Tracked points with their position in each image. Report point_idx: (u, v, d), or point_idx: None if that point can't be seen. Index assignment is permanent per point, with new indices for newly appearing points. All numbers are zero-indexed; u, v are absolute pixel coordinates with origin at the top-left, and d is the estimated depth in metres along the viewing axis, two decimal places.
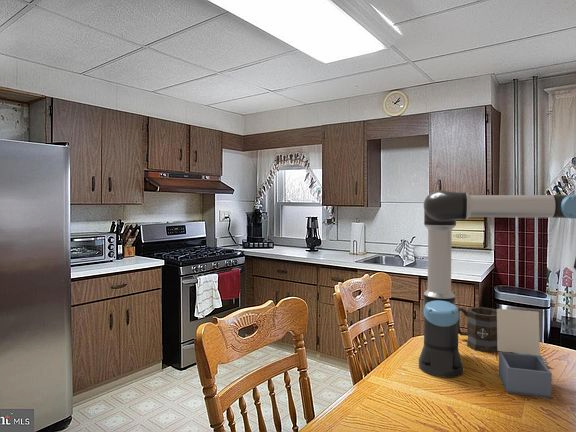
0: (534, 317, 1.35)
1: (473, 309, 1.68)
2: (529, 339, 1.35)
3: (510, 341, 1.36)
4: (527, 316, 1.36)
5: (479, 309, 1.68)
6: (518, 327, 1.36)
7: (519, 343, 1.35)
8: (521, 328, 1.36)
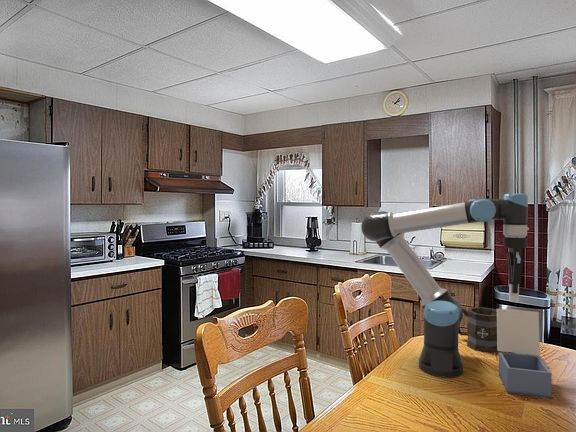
0: (534, 317, 1.35)
1: (473, 309, 1.68)
2: (529, 339, 1.35)
3: (510, 341, 1.36)
4: (527, 316, 1.36)
5: (479, 309, 1.68)
6: (518, 327, 1.36)
7: (519, 343, 1.35)
8: (521, 328, 1.36)
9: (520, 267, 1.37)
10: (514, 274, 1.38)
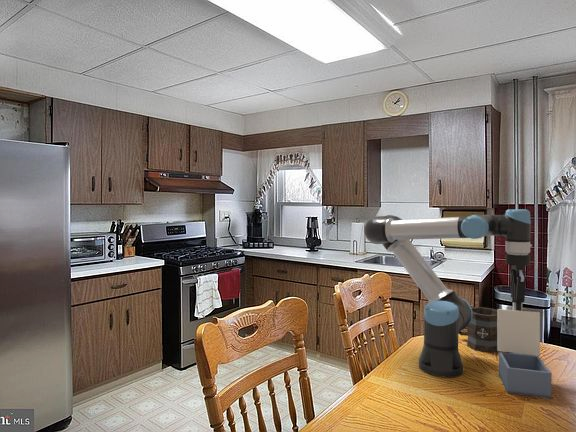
0: (535, 318, 1.34)
1: (473, 309, 1.68)
2: (529, 339, 1.34)
3: (510, 341, 1.36)
4: (528, 317, 1.35)
5: (479, 309, 1.68)
6: (519, 327, 1.36)
7: (520, 343, 1.35)
8: (522, 328, 1.35)
9: (524, 286, 1.33)
10: (517, 293, 1.34)
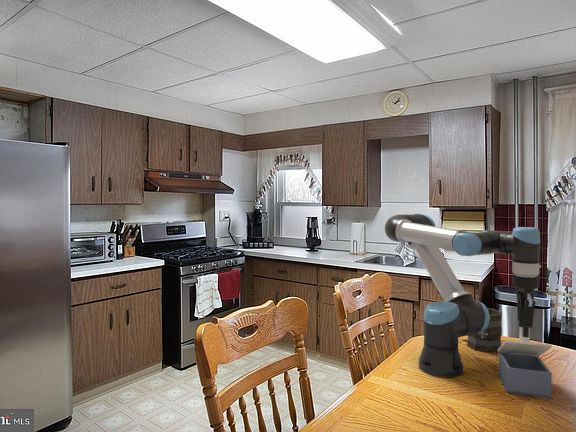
0: (545, 347, 1.24)
1: None
2: (533, 351, 1.30)
3: (512, 350, 1.33)
4: (537, 346, 1.24)
5: None
6: (524, 348, 1.28)
7: (522, 351, 1.32)
8: (527, 348, 1.28)
9: (532, 311, 1.24)
10: (525, 318, 1.25)
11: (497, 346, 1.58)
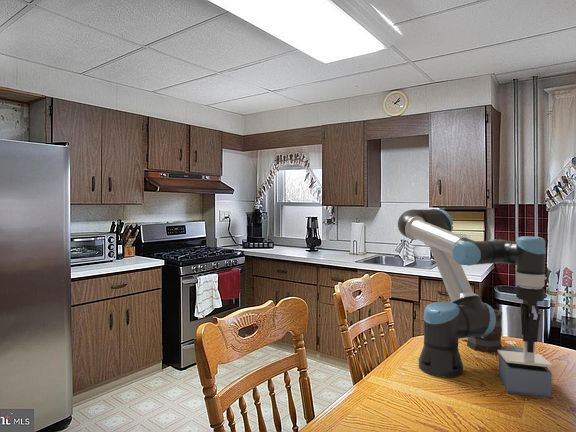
0: None
1: None
2: None
3: None
4: None
5: None
6: None
7: None
8: None
9: (537, 324, 1.18)
10: (529, 332, 1.19)
11: (497, 346, 1.58)
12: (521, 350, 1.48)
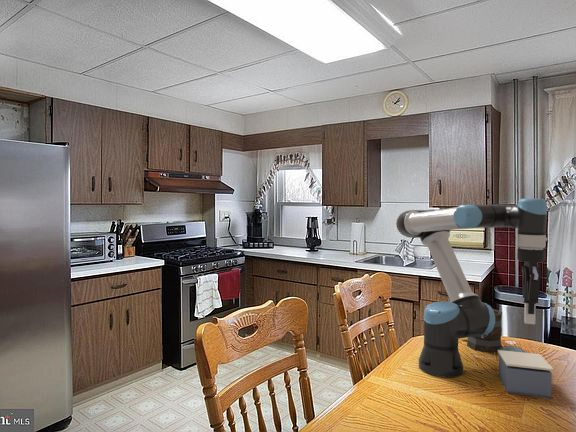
0: None
1: None
2: None
3: None
4: None
5: None
6: None
7: None
8: None
9: (537, 284, 1.17)
10: (530, 292, 1.19)
11: (497, 346, 1.58)
12: (519, 350, 1.48)
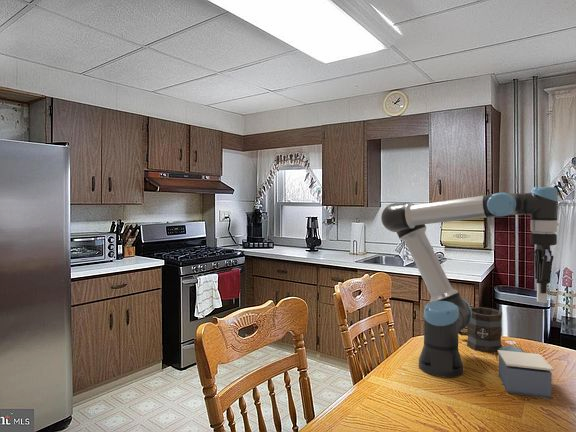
0: None
1: (473, 309, 1.68)
2: None
3: None
4: None
5: (479, 309, 1.68)
6: None
7: None
8: None
9: (550, 265, 1.28)
10: (543, 273, 1.29)
11: (497, 346, 1.58)
12: (517, 350, 1.48)
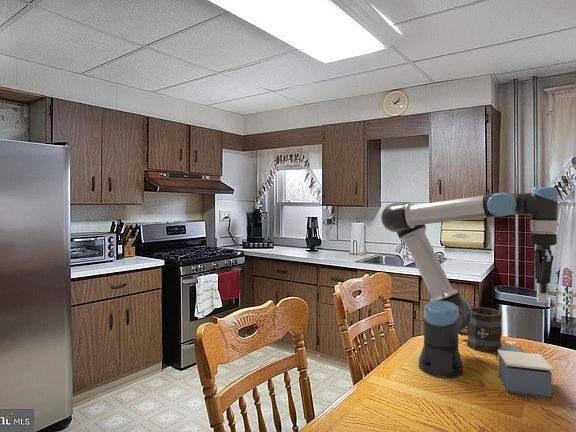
0: None
1: (473, 309, 1.68)
2: None
3: None
4: None
5: (479, 309, 1.68)
6: None
7: None
8: None
9: (550, 265, 1.28)
10: (543, 273, 1.29)
11: (497, 346, 1.58)
12: (516, 350, 1.48)
